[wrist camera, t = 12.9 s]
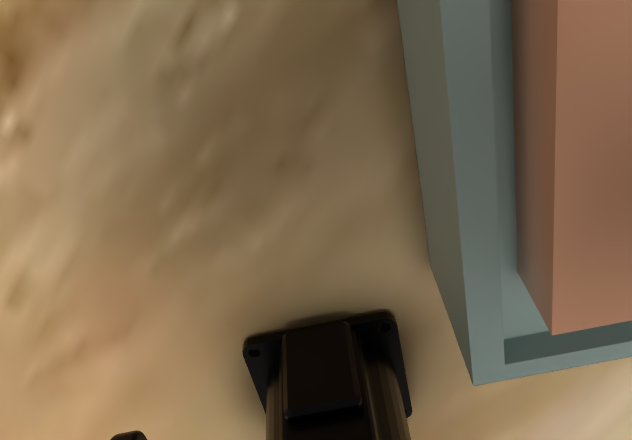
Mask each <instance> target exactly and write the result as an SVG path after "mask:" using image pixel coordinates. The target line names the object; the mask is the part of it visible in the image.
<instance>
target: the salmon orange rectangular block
mask: <svg viewBox="0 0 632 440" xmlns="http://www.w3.org/2000/svg"><path fill="white" fill-rule="evenodd" d="M511 28H512V69H513V109H514V150H515V190H516V230H517V271H518V274H519V276H520V278H521V280H522V282H523V283H524V285H525V287H526V289H527V291H528V293H529V294H530V296H531V298H532V300H533V302H534V304H535V305H536V307H537V309H538V311H539V313H540V315H541V316H542V318H543V320H544V322H545V324H546V326H547V327H548V329H549V331H550V333H551V335H557V334H563V333H568V332H573V331H578V330H584V329H589V328H594V327H599V326H605V325H610V324H615V323H620V322H626V321H631V320H632V0H511Z"/></svg>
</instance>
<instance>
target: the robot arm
mask: <svg viewBox="0 0 632 440" xmlns="http://www.w3.org/2000/svg"><path fill="white" fill-rule="evenodd" d="M383 323H388V324H387V325H381V324H383ZM251 349H258V350H251ZM243 357H244V359H245V362H246V364H247V367H248V369H249V372H250V374H251V377H252V380H253V382H254V385H255V387H256V390H257V392H258V395H259V397H260V400H261V403H262V405H263V408H264V410H265V413H266V440H411V437H410V433H409V428H408V424H407V419H406V418H408V417H409V416H410V415H411V414H412V407H411V402H410V396H409V390H408V385H407V379H406V374H405V368H404V363H403V357H402V351H401V346H400V340H399V335H398V329H397V324H396V320H395V317H394V315H392V314H391V313H388V312H381V313H375V314H370V315H365V316H360V317H355V318H350V319H345V320H340V321H334V322H329V323H324V324H319V325H314V326H309V327H304V328H299V329H293V330H288V331H283V332H278V333H273V334H268V335H263V336H258V337H252V338H249V339H247V340H246V341H245V342H244V344H243ZM110 440H147V439H146V437H145V435H144V434H143V433H142V432H140V431H131V432H126V433H120V434H117V435H115V436H114V437H112V438H111V439H110Z"/></svg>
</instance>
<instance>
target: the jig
mask: <svg viewBox="0 0 632 440" xmlns="http://www.w3.org/2000/svg"><path fill="white" fill-rule="evenodd" d="M397 4H398V12H399V20H400V28H401V36H402V44H403V52H404V60H405V68H406V76H407V84H408V91H409V99H410V107H411V115H412V123H413V131H414V139H415V147H416V155H417V163H418V171H419V178H420V186H421V194H422V202H423V210H424V218H425V226H426V234H427V242H428V250H429V257H430V265H431V268H432V271H433V274H434V277H435V280H436V282H437V285H438V288H439V291H440V294H441V296H442V299H443V302H444V305H445V308H446V310H447V313H448V316H449V319H450V322H451V324H452V327H453V330H454V333H455V336H456V339H457V341H458V344H459V347H460V350H461V353H462V355H463V358H464V361H465V364H466V367H467V369H468V372H469V375H470V378H471V381H472V383H473V386H476V385H482V384H487V383H493V382H498V381H503V380H509V379H514V378H519V377H525V376H530V375H536V374H541V373H546V372H552V371H557V370H563V369H568V368H573V367H579V366H584V365H589V364H595V363H600V362H606V361H611V360H616V359H622V358H627V357H632V320H631V321H626V322H620V323H615V324H610V325H605V326H599V327H594V328H589V329H584V330H578V331H573V332H568V333H563V334H557V335H551V333H550V331H549V329H548V327H547V326H546V324H545V322H544V320H543V318H542V316H541V315H540V313H539V311H538V309H537V307H536V305H535V304H534V302H533V300H532V298H531V296H530V294H529V293H528V291H527V289H526V287H525V285H524V283H523V282H522V280H521V278H520V276H519V274H518V271H517V230H516V190H515V150H514V109H513V69H512V28H511V0H397Z"/></svg>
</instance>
